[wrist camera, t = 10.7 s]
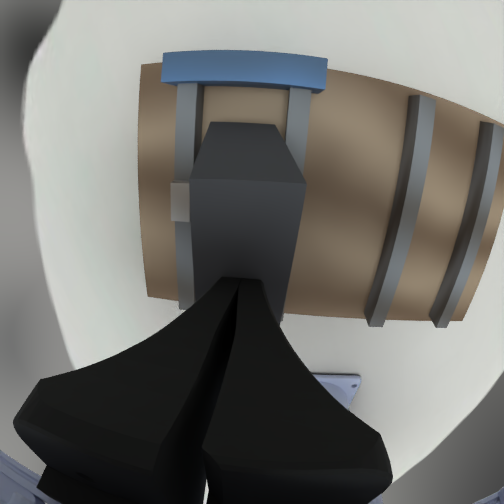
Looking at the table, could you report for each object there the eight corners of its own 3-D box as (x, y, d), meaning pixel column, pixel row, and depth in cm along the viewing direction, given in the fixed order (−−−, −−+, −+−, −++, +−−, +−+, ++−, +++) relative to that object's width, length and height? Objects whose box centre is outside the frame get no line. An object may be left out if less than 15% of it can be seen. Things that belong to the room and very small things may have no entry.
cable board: (458, 315, 20) (475, 340, 17) (151, 290, 21) (134, 317, 18) (510, 130, 13) (540, 136, 10) (146, 66, 14) (120, 58, 11)
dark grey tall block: (260, 259, 18) (271, 360, 12) (209, 258, 18) (201, 359, 12) (274, 124, 13) (307, 183, 8) (210, 121, 13) (189, 178, 7)
